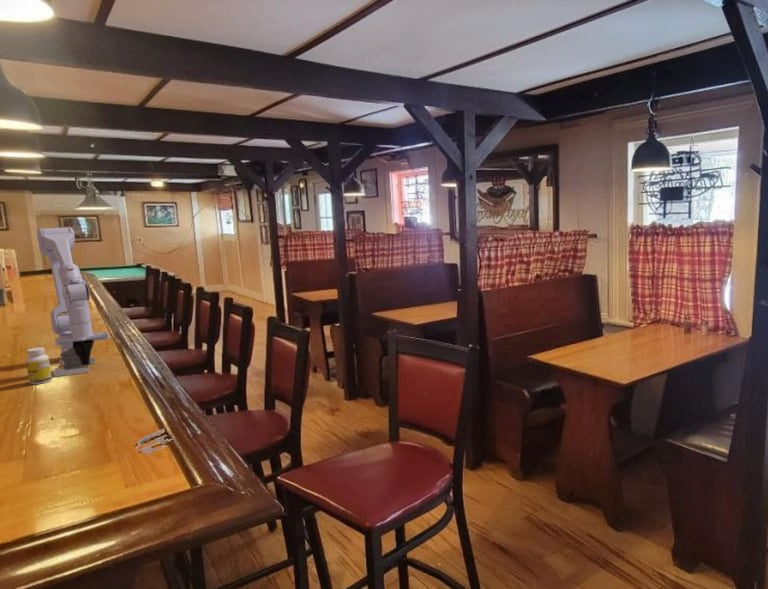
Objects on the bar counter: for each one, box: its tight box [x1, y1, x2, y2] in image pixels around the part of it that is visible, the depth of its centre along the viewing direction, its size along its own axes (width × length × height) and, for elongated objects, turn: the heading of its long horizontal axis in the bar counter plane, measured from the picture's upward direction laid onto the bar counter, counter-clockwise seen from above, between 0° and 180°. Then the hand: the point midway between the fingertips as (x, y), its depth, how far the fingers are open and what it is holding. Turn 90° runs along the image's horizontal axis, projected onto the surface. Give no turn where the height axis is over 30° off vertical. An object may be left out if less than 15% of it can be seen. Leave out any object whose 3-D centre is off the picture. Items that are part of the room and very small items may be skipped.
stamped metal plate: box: [134, 427, 173, 455], centre depth 101 cm, size 8×7×2 cm
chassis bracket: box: [53, 357, 96, 378], centre depth 159 cm, size 13×9×2 cm
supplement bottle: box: [25, 346, 53, 385], centre depth 147 cm, size 5×5×10 cm
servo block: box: [59, 347, 84, 369], centre depth 159 cm, size 6×4×7 cm, turn 21°
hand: (86, 364), depth 160 cm, fingers closed
